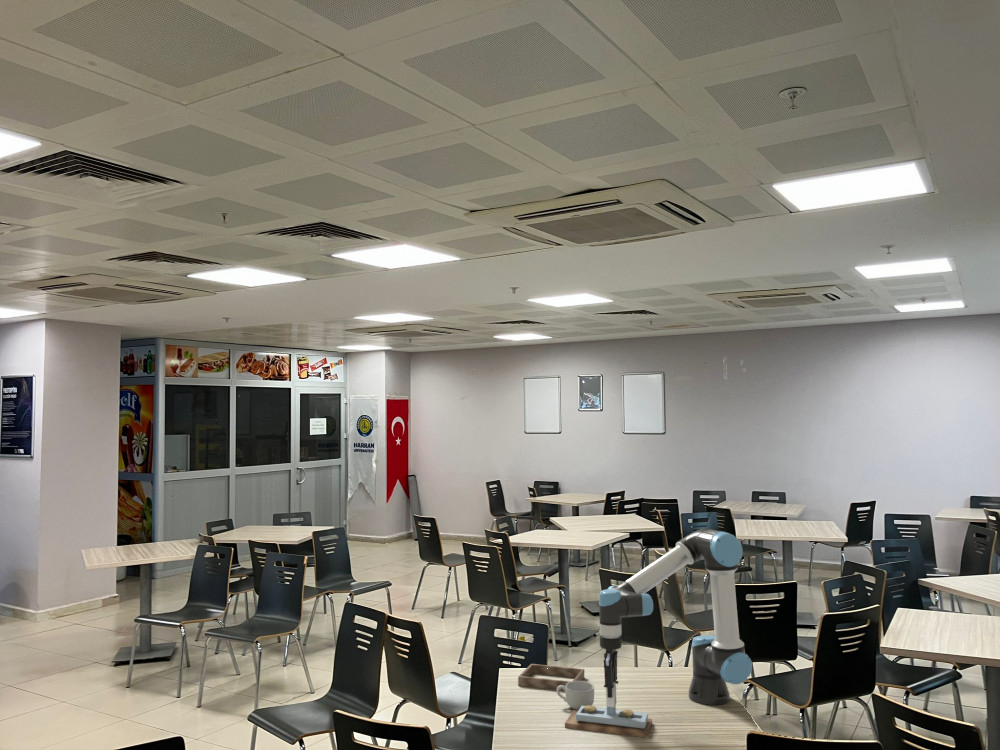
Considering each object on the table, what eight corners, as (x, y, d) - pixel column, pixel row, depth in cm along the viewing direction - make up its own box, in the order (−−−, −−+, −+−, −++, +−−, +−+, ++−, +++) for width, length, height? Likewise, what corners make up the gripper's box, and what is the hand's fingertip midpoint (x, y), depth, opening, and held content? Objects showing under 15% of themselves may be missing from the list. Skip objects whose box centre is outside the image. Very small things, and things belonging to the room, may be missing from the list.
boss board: (652, 723, 269) (651, 707, 269) (646, 737, 257) (646, 720, 257) (573, 714, 278) (573, 698, 278) (564, 727, 266) (564, 711, 266)
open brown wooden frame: (584, 677, 319) (584, 669, 319) (574, 691, 302) (574, 682, 302) (531, 672, 327) (531, 663, 327) (518, 685, 310) (518, 676, 310)
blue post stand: (648, 719, 268) (647, 682, 269) (644, 728, 259) (643, 690, 260) (581, 711, 275) (581, 675, 276) (575, 720, 267) (575, 683, 268)
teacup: (597, 704, 288) (597, 682, 289) (591, 714, 278) (590, 691, 279) (561, 700, 293) (561, 678, 293) (553, 709, 283) (553, 687, 283)
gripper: (604, 629, 278) (605, 696, 276) (595, 640, 263) (596, 711, 261) (625, 630, 275) (626, 698, 274) (617, 642, 261) (618, 714, 259)
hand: (611, 704), depth 268 cm, fingers closed on blue post stand, 3 cm apart
